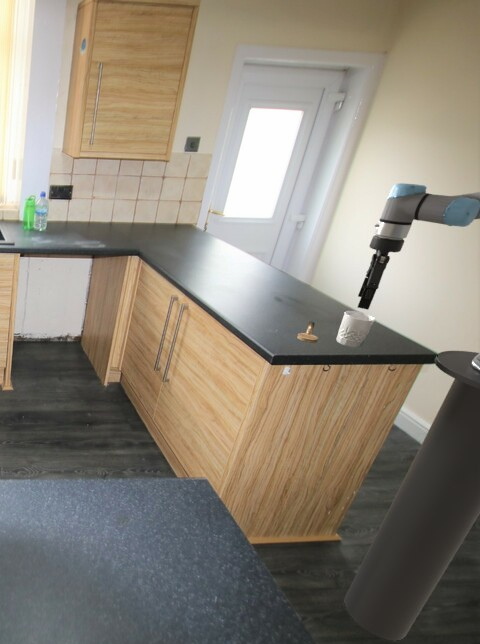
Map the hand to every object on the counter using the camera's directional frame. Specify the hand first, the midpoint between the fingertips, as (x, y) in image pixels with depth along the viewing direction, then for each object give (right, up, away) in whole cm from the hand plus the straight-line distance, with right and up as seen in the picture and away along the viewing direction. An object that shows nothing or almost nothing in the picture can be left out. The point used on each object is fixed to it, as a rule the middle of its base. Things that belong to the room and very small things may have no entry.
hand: (362, 302), depth 151 cm
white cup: (0, -13, +5) cm, 14 cm away
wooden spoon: (-8, -10, +12) cm, 18 cm away
